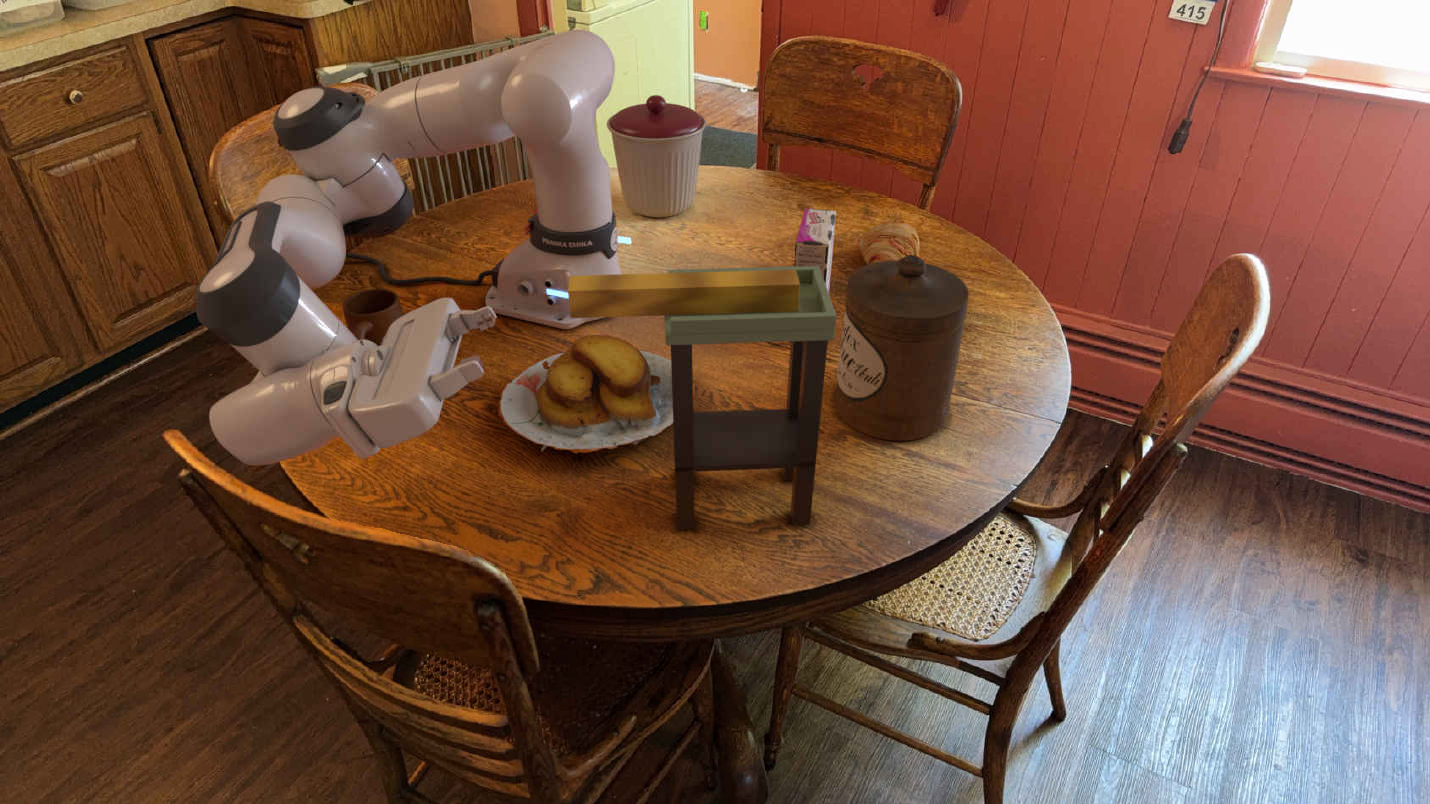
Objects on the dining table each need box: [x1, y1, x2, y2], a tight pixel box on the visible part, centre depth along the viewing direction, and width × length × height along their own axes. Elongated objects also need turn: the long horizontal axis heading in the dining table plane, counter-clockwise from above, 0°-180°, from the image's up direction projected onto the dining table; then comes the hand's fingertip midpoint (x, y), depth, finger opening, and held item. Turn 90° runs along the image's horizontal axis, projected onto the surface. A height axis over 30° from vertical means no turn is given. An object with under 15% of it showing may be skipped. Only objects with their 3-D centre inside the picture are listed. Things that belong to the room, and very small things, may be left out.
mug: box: [342, 288, 405, 346], centre depth 118 cm, size 12×8×9 cm, turn 2°
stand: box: [664, 266, 837, 531], centre depth 92 cm, size 16×10×28 cm, turn 94°
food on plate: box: [497, 334, 696, 459], centre depth 112 cm, size 25×25×7 cm
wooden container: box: [834, 255, 970, 442], centre depth 107 cm, size 15×15×22 cm
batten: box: [568, 270, 800, 318], centre depth 83 cm, size 22×3×3 cm, turn 94°
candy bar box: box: [793, 208, 837, 294], centre depth 126 cm, size 11×5×16 cm, turn 168°
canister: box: [606, 94, 707, 218], centre depth 159 cm, size 18×18×21 cm
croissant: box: [859, 219, 921, 265], centre depth 146 cm, size 21×10×8 cm, turn 163°
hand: (487, 338), depth 85 cm, fingers open, 8 cm apart
